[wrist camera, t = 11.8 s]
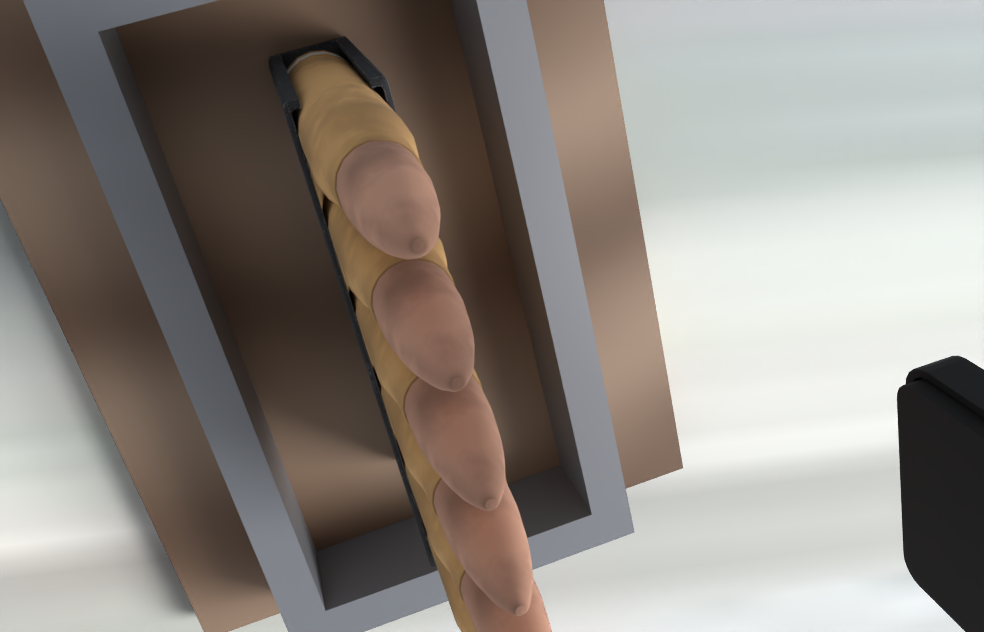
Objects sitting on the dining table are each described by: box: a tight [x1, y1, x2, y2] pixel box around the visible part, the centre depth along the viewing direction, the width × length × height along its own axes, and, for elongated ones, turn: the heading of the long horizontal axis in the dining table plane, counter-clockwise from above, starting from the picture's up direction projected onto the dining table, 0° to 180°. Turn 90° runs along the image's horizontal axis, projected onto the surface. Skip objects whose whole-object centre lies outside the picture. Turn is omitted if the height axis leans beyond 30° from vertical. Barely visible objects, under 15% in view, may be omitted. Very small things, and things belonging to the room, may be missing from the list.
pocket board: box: [0, 0, 683, 632], centre depth 22 cm, size 17×14×4 cm
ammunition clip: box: [269, 36, 552, 632], centre depth 17 cm, size 11×2×12 cm, turn 13°
